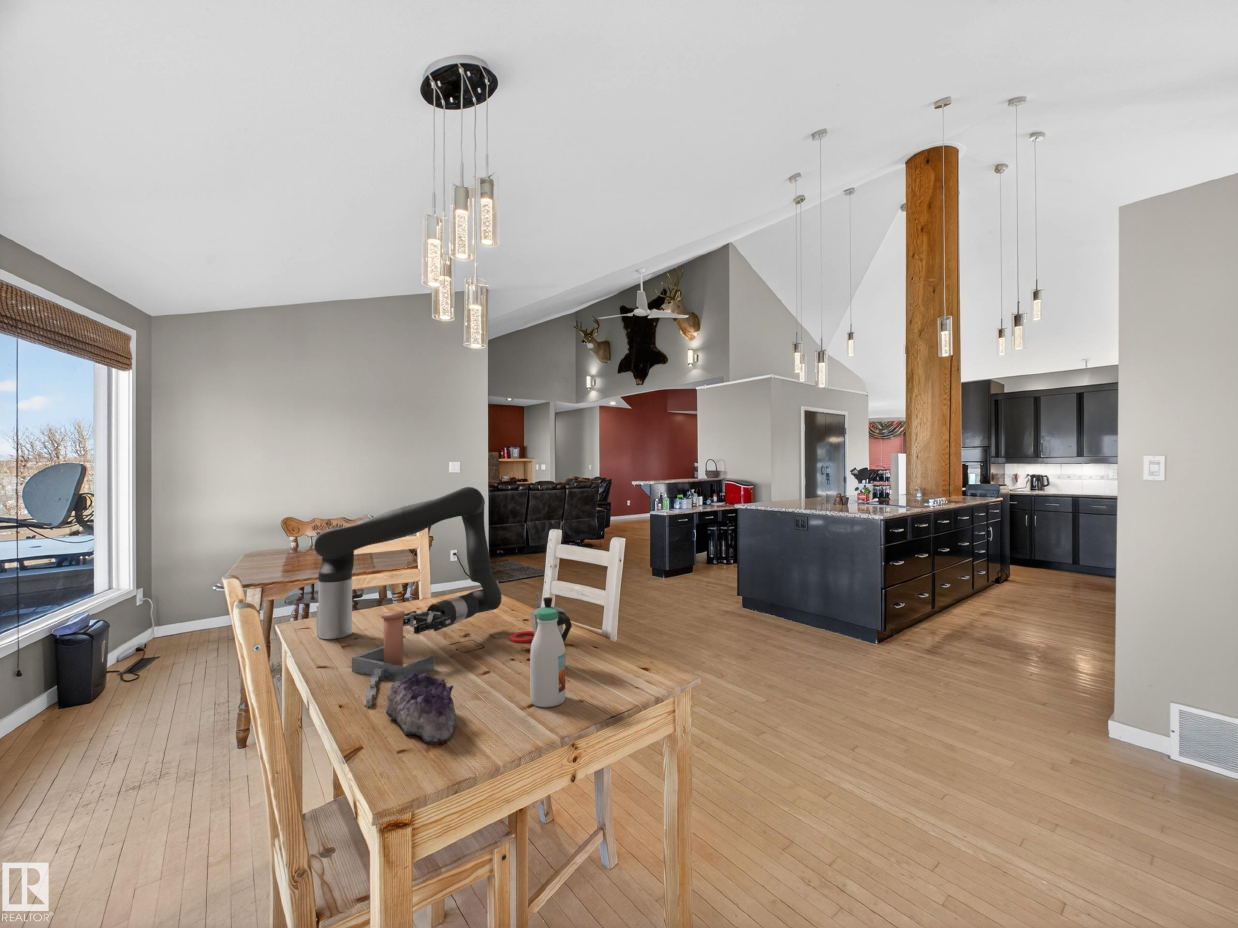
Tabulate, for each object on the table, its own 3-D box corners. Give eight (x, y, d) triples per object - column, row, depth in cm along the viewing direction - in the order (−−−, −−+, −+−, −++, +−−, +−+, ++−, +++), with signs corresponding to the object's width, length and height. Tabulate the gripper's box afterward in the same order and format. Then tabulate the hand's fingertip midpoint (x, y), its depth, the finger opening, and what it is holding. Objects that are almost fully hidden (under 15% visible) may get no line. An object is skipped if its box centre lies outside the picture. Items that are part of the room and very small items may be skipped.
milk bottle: (550, 711, 116) (550, 617, 116) (522, 703, 120) (522, 612, 120) (572, 698, 123) (571, 609, 123) (545, 691, 127) (545, 604, 127)
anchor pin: (376, 672, 139) (376, 614, 139) (394, 665, 144) (394, 609, 144) (392, 675, 137) (392, 617, 137) (410, 668, 142) (409, 611, 142)
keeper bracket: (347, 673, 138) (347, 659, 139) (383, 659, 149) (383, 646, 149) (399, 684, 131) (399, 670, 131) (434, 669, 141) (434, 655, 141)
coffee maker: (519, 665, 143) (519, 596, 143) (545, 657, 149) (545, 591, 149) (556, 680, 133) (556, 606, 133) (583, 670, 139) (583, 599, 139)
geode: (479, 731, 108) (473, 683, 107) (422, 760, 100) (415, 709, 99) (435, 696, 123) (429, 653, 122) (382, 719, 115) (376, 673, 114)
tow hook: (506, 644, 162) (540, 643, 161) (504, 597, 162) (537, 596, 161) (514, 635, 171) (545, 634, 170) (511, 590, 171) (543, 589, 170)
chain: (364, 707, 118) (364, 699, 118) (371, 679, 134) (371, 672, 134) (373, 706, 119) (373, 698, 119) (379, 678, 135) (379, 671, 135)
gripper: (428, 597, 161) (383, 610, 146) (466, 602, 155) (423, 616, 140) (428, 622, 161) (383, 638, 146) (466, 628, 155) (423, 646, 140)
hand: (403, 627), depth 143 cm, fingers open, 8 cm apart
